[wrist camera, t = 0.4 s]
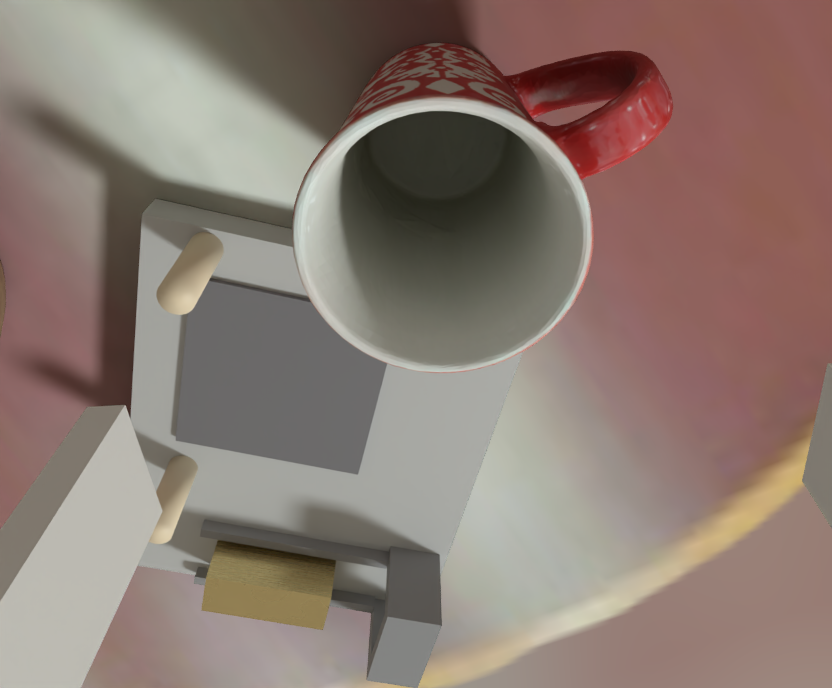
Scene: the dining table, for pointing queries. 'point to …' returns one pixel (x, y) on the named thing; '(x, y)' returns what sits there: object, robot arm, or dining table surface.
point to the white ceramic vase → (2, 296)
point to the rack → (297, 430)
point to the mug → (465, 201)
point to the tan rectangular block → (269, 585)
